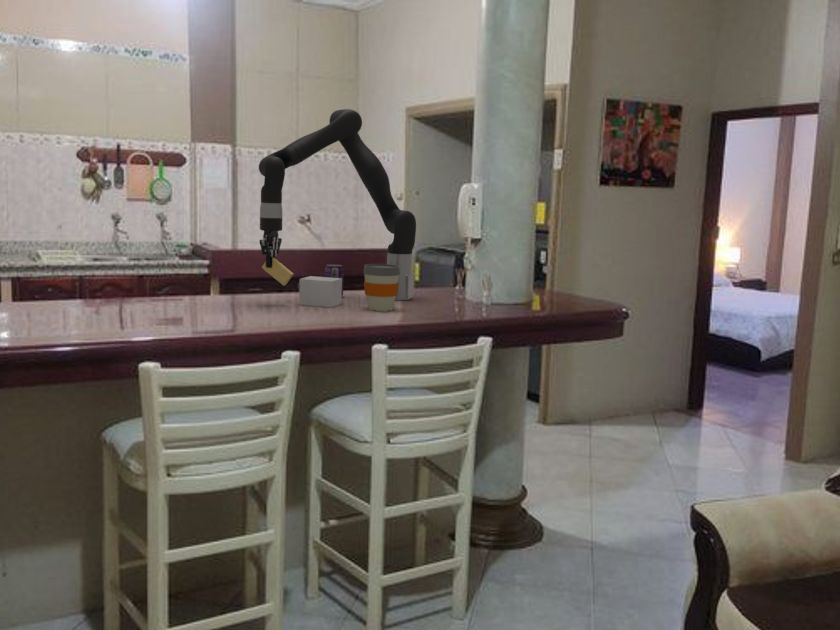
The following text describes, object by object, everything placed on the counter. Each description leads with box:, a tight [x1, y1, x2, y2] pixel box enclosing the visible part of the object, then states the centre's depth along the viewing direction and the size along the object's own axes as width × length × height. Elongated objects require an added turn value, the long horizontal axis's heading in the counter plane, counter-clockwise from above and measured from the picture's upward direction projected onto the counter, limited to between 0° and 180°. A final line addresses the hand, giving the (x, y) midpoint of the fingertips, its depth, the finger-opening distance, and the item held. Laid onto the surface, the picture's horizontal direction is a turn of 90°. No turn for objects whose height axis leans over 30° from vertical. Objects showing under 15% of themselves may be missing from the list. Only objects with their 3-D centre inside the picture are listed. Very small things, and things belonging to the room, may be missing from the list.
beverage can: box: [324, 263, 345, 297], centre depth 296 cm, size 7×7×12 cm
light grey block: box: [297, 275, 343, 308], centre depth 277 cm, size 13×10×9 cm
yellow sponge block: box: [261, 257, 294, 287], centre depth 270 cm, size 10×2×5 cm
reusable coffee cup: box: [362, 263, 400, 312], centre depth 272 cm, size 13×13×15 cm
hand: (270, 267), depth 271 cm, fingers closed on yellow sponge block, 1 cm apart
